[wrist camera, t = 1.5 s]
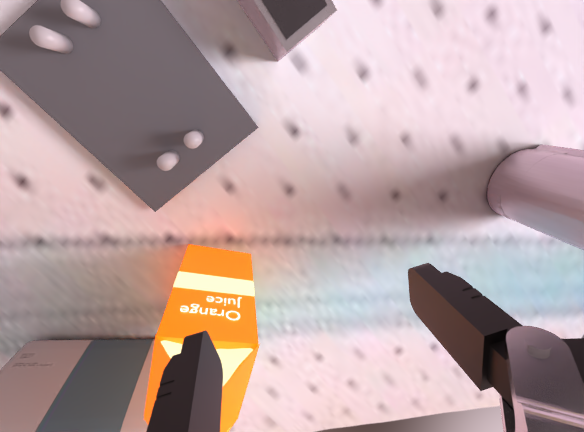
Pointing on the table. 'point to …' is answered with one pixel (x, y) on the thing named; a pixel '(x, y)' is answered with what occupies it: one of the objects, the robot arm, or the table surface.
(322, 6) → the grey boxy piece
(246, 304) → the orange juice
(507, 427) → the robot arm
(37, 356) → the stereo radio cassette player
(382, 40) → the table surface
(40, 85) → the pin tray
